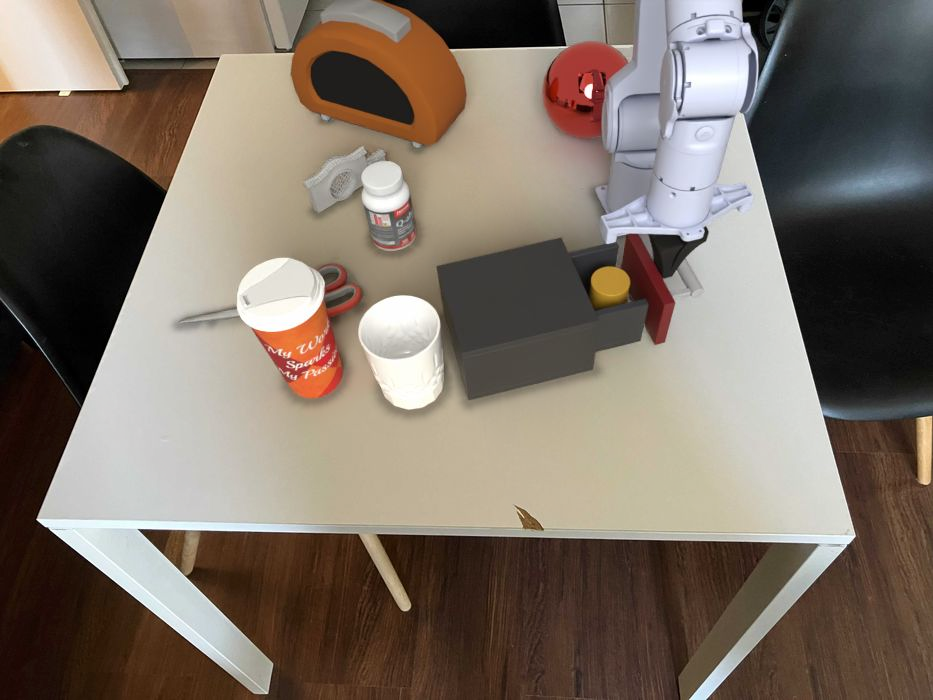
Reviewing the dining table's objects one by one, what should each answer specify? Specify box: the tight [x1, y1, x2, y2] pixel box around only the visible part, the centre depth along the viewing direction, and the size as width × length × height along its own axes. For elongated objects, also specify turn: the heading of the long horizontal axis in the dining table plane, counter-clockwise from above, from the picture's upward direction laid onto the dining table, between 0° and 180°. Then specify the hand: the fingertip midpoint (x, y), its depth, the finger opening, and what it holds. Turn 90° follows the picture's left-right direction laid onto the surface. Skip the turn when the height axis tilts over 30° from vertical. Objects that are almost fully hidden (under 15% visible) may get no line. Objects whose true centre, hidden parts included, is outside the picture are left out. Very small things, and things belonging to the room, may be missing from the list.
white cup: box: [357, 294, 445, 410], centre depth 73 cm, size 8×8×10 cm
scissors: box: [178, 263, 363, 324], centre depth 83 cm, size 8×21×2 cm, turn 112°
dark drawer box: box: [436, 237, 599, 401], centre depth 75 cm, size 14×12×9 cm
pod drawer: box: [568, 233, 705, 353], centre depth 76 cm, size 17×10×7 cm, turn 104°
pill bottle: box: [361, 160, 417, 252], centre depth 85 cm, size 6×6×10 cm
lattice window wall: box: [302, 145, 387, 214], centre depth 93 cm, size 12×2×6 cm, turn 132°
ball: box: [541, 40, 630, 140], centre depth 94 cm, size 12×12×12 cm
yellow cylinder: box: [589, 266, 630, 311], centre depth 76 cm, size 4×4×5 cm
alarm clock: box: [290, 0, 468, 149], centre depth 96 cm, size 23×9×17 cm, turn 62°
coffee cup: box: [236, 257, 343, 399], centre depth 72 cm, size 8×8×15 cm
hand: (663, 270), depth 75 cm, fingers closed
